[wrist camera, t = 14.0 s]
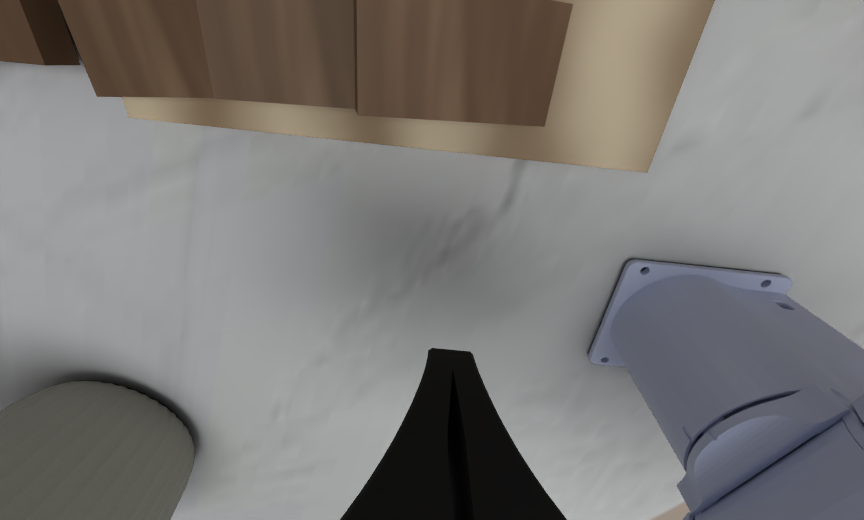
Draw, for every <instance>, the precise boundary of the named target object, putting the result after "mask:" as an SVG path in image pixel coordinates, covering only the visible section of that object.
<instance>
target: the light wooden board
mask: <svg viewBox="0 0 864 520" xmlns="http://www.w3.org/2000/svg"><path fill="white" fill-rule="evenodd" d="M552 1H559V2H565V3H571V4H573V7H572V12H571V16H570V20H569V24H568V29H567V33H566V37H565V42H564V46H563V50H562V54H561V59H560V63H559V67H558V72H557V76H556V80H555V84H554V89H553V93H552V97H551V102H550V106H549V110H548V114H547V119H546V123H545V127H539V126H522V125H506V124H489V123H473V122H456V121H440V120H423V119H407V118H390V117H373V116H358V115H357V113H356V110H355V109H346V108H333V107H319V106H306V105H292V104H279V103H265V102H252V101H238V100H225V99H214V98H170V97H123V100H124V104H125V107H126V110H127V114H128V117H129V118H137V119H147V120H156V121H166V122H175V123H184V124H194V125H203V126H213V127H222V128H232V129H241V130H251V131H260V132H269V133H279V134H288V135H298V136H307V137H317V138H326V139H335V140H345V141H354V142H364V143H373V144H383V145H392V146H401V147H411V148H420V149H430V150H439V151H449V152H458V153H468V154H477V155H486V156H496V157H505V158H515V159H524V160H534V161H543V162H552V163H562V164H571V165H581V166H590V167H600V168H609V169H618V170H628V171H637V172H648V170H649V167H650V165H651V162H652V160H653V157H654V154H655V152H656V149H657V147H658V144H659V142H660V139H661V137H662V134H663V131H664V129H665V126H666V124H667V121H668V119H669V116H670V114H671V111H672V109H673V106H674V103H675V101H676V98H677V96H678V93H679V91H680V88H681V86H682V83H683V80H684V78H685V75H686V73H687V70H688V68H689V65H690V63H691V60H692V57H693V55H694V52H695V50H696V47H697V45H698V42H699V40H700V37H701V34H702V32H703V29H704V27H705V24H706V22H707V19H708V17H709V14H710V12H711V9H712V6H713V4H714V1H715V0H552Z"/></svg>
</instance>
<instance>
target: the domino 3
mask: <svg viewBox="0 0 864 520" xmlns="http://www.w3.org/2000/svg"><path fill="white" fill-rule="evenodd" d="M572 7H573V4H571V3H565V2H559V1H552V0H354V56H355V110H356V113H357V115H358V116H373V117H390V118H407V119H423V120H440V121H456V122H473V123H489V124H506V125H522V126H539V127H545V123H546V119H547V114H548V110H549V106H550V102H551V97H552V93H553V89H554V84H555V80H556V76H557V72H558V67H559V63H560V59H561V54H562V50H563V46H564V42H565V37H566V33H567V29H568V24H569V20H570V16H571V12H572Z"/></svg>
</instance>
